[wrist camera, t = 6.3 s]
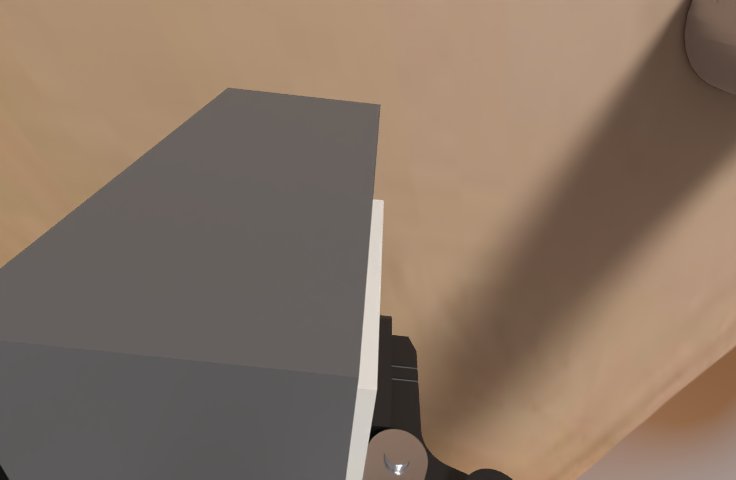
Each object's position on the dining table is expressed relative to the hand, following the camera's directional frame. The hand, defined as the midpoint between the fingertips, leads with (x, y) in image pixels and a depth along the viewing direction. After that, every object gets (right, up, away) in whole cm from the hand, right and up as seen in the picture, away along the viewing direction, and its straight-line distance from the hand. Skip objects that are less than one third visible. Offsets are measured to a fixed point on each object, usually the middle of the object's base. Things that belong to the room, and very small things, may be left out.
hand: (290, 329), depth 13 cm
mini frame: (0, +1, +2) cm, 2 cm away
